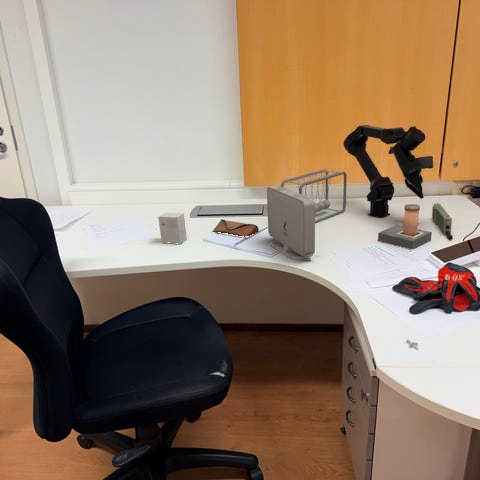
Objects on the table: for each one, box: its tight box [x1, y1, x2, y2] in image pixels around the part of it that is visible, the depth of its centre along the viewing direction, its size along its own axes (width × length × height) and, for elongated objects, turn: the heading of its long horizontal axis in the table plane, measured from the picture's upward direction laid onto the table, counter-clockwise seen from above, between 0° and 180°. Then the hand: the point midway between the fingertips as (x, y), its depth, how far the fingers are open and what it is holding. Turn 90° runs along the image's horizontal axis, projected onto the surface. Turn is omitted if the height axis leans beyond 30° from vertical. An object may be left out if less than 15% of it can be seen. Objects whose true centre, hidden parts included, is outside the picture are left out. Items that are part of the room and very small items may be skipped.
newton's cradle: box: [280, 168, 348, 224], centre depth 182 cm, size 30×10×18 cm, turn 133°
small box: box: [157, 212, 188, 245], centre depth 165 cm, size 8×6×10 cm
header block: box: [377, 224, 433, 250], centre depth 153 cm, size 13×12×4 cm
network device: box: [266, 185, 316, 260], centre depth 149 cm, size 26×9×20 cm, turn 23°
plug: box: [403, 203, 421, 237], centre depth 149 cm, size 5×5×13 cm
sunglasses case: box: [211, 218, 260, 237], centre depth 173 cm, size 18×7×7 cm
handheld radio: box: [431, 202, 454, 240], centre depth 162 cm, size 7×3×25 cm
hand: (421, 195), depth 159 cm, fingers open, 9 cm apart
